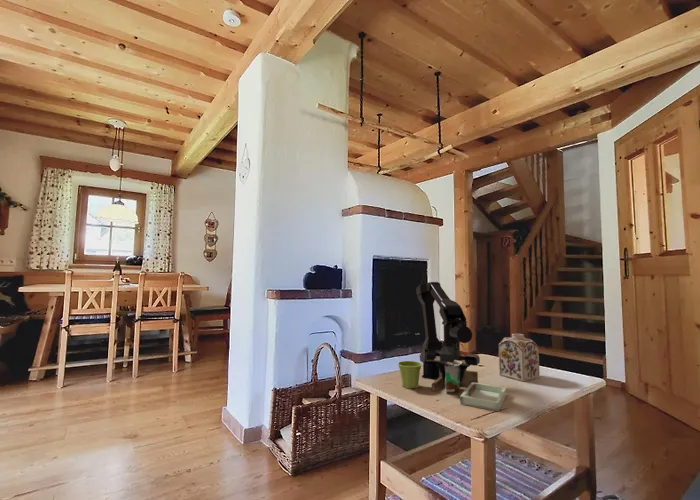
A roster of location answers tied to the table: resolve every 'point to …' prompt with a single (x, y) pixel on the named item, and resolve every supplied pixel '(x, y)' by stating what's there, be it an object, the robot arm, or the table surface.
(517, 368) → the decorative jar
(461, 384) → the wooden pieces
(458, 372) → the food container
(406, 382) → the plant pot
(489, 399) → the tray
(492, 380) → the table surface
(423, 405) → the table surface
